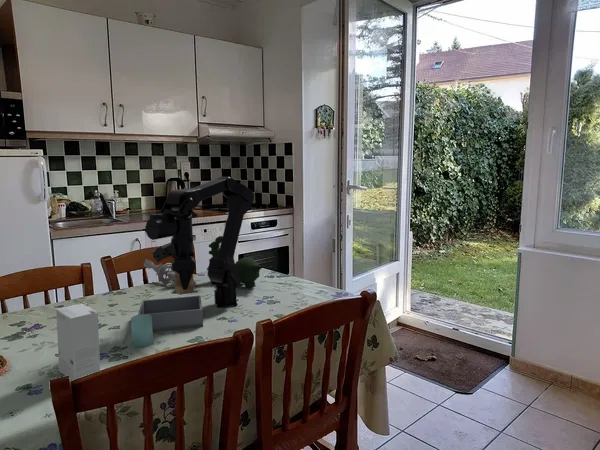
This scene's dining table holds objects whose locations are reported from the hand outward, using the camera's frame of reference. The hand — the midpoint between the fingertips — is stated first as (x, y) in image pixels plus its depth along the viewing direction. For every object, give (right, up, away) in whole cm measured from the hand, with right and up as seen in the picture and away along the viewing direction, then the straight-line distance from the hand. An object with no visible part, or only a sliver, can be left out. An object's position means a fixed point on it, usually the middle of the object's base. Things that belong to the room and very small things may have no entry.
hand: (184, 286), depth 126 cm
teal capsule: (-7, -13, -15) cm, 21 cm away
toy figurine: (+10, -5, +36) cm, 38 cm away
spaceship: (-17, -4, +40) cm, 43 cm away
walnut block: (0, -1, 0) cm, 1 cm away
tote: (-4, -10, 0) cm, 11 cm away
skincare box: (-15, -15, -30) cm, 37 cm away
